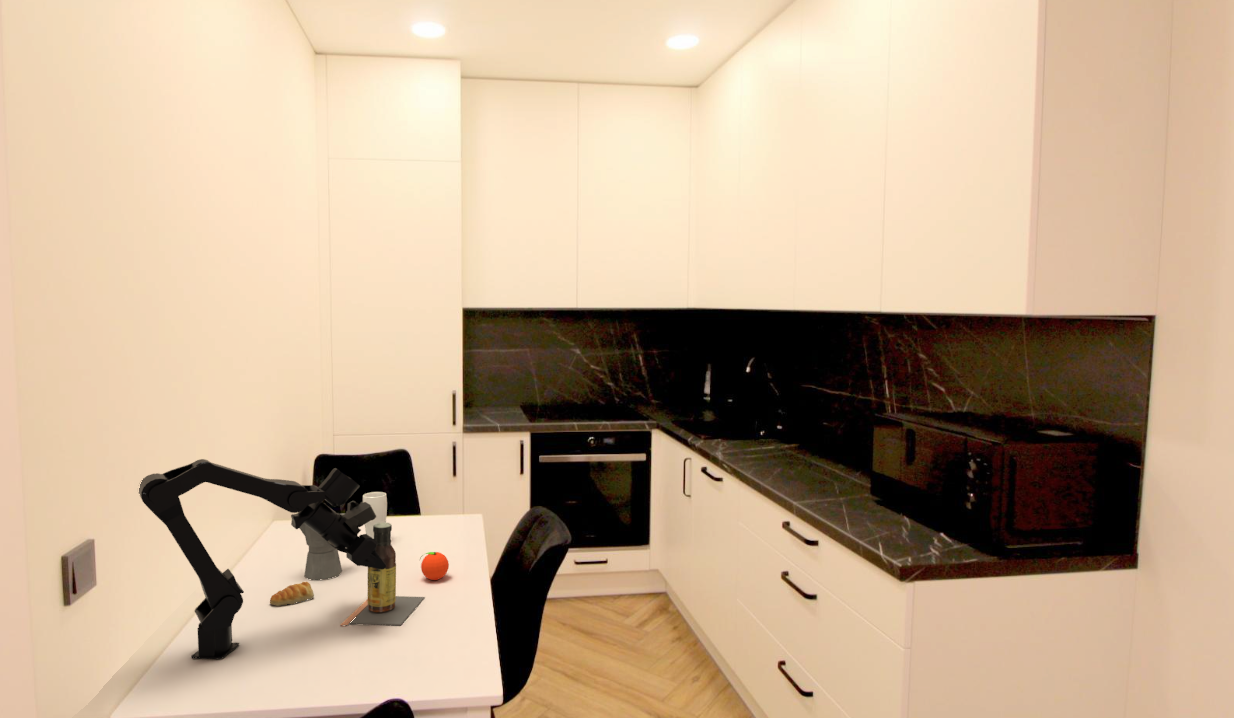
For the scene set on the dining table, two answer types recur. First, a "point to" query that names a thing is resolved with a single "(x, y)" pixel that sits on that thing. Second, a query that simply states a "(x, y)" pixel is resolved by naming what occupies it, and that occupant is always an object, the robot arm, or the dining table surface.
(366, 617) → the charcoal mat
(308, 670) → the dining table surface
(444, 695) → the dining table surface
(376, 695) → the dining table surface
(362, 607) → the terracotta line
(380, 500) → the drinking glass
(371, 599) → the sauce bottle
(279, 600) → the pastry
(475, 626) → the dining table surface
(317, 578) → the coffeepot
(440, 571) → the clementine
